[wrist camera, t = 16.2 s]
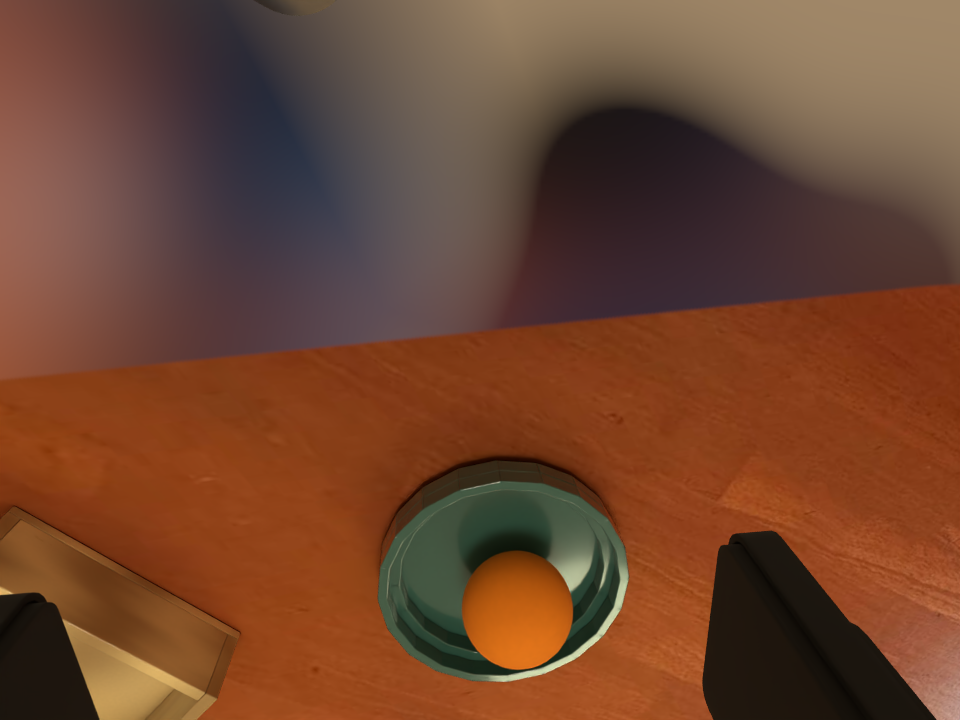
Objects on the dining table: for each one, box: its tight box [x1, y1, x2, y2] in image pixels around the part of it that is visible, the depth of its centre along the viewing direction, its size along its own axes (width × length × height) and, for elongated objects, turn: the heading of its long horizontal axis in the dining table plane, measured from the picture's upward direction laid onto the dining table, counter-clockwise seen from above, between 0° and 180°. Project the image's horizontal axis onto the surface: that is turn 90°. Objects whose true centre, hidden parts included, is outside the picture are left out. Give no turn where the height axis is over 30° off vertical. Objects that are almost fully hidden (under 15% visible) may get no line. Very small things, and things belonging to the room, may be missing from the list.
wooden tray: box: [0, 506, 240, 720], centre depth 39 cm, size 16×16×5 cm
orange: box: [462, 551, 573, 670], centre depth 38 cm, size 7×7×7 cm
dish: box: [378, 460, 629, 682], centre depth 40 cm, size 15×15×3 cm
